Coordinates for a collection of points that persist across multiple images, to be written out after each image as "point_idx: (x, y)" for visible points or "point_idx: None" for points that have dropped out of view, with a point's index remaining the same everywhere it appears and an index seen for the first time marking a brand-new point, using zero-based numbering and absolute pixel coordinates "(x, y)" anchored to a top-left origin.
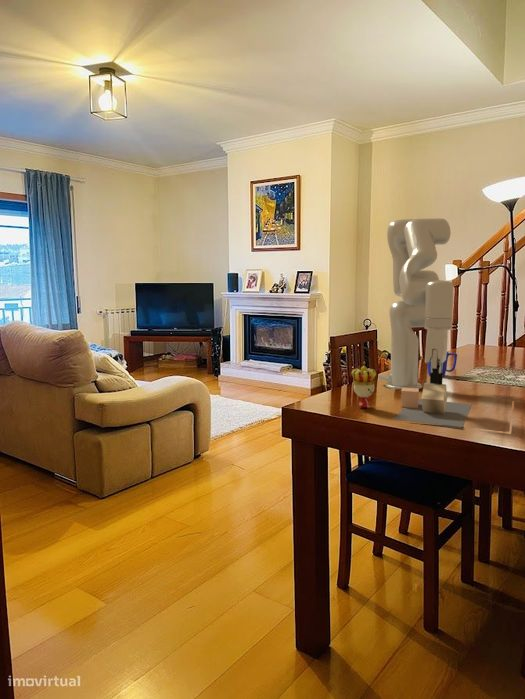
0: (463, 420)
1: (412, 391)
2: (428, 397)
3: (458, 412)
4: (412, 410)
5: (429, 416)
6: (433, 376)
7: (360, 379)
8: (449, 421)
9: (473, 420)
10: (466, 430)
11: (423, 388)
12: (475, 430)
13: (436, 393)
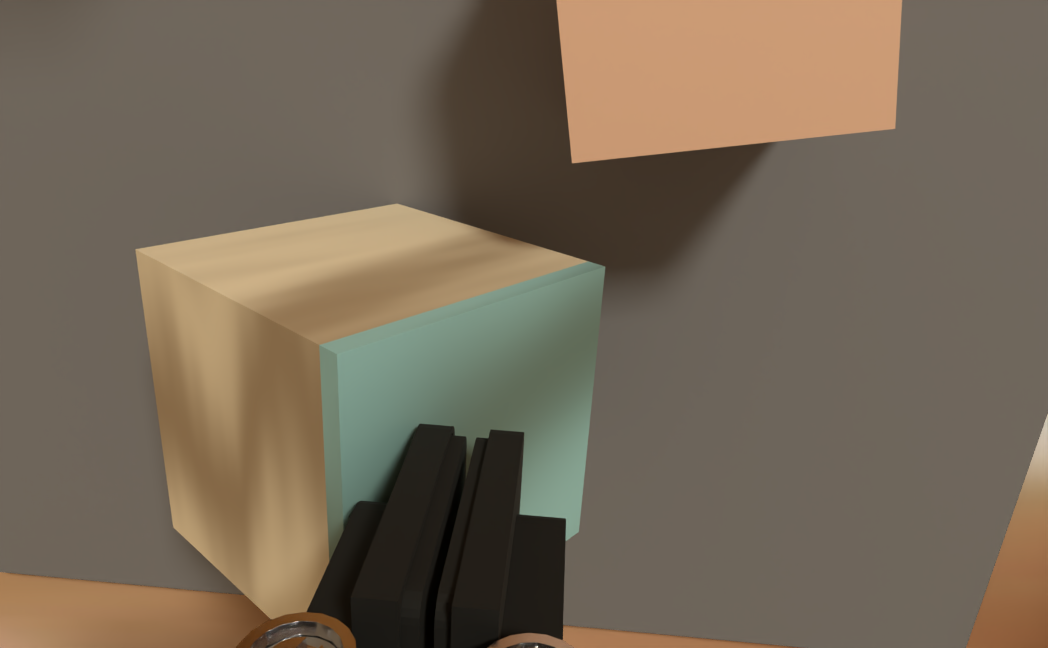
0: (225, 582)
1: (561, 47)
2: (162, 357)
3: None
4: (404, 67)
5: None
6: (315, 609)
7: None
8: (119, 478)
9: None
10: (4, 585)
11: (252, 310)
12: (47, 640)
13: (220, 486)
